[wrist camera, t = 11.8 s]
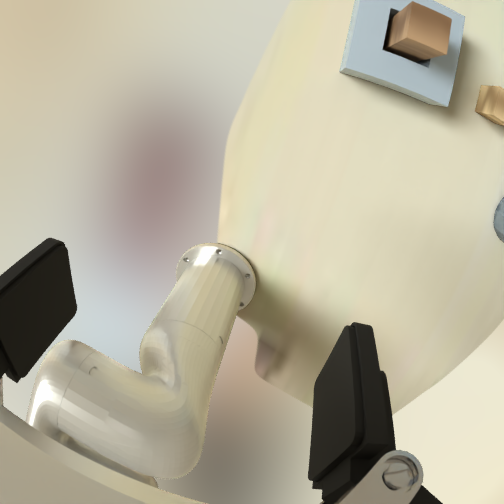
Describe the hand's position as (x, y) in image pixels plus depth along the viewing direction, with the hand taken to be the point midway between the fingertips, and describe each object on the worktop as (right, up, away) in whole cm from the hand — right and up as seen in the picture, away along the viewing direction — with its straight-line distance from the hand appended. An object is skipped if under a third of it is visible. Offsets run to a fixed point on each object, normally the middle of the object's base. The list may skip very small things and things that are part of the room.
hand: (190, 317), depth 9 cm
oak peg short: (+33, +22, +19) cm, 44 cm away
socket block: (+19, +27, +19) cm, 38 cm away
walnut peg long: (+19, +27, +19) cm, 38 cm away
